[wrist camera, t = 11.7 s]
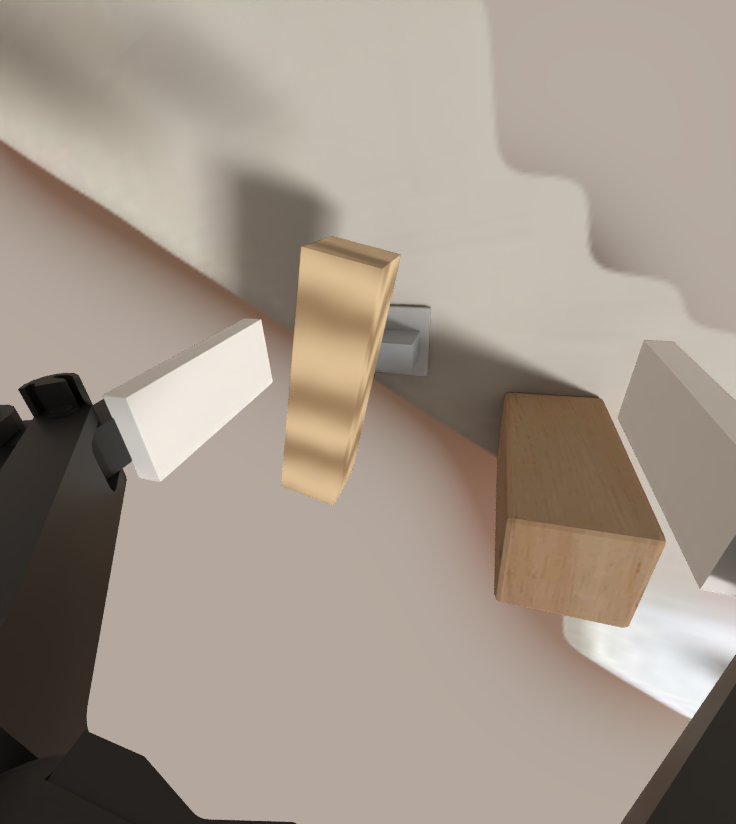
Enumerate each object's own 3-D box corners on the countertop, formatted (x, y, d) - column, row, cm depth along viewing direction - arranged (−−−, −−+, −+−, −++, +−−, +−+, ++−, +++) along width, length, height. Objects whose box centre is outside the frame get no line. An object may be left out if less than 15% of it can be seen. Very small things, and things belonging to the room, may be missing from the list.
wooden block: (496, 460, 49) (493, 602, 32) (504, 390, 44) (505, 517, 27) (584, 470, 46) (629, 632, 30) (603, 396, 41) (670, 542, 25)
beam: (332, 236, 32) (301, 246, 27) (401, 254, 31) (381, 268, 26) (305, 452, 45) (281, 486, 40) (352, 469, 44) (333, 505, 39)
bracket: (311, 302, 45) (274, 326, 38) (430, 307, 41) (415, 335, 34) (319, 365, 49) (286, 398, 42) (427, 374, 45) (413, 412, 38)
